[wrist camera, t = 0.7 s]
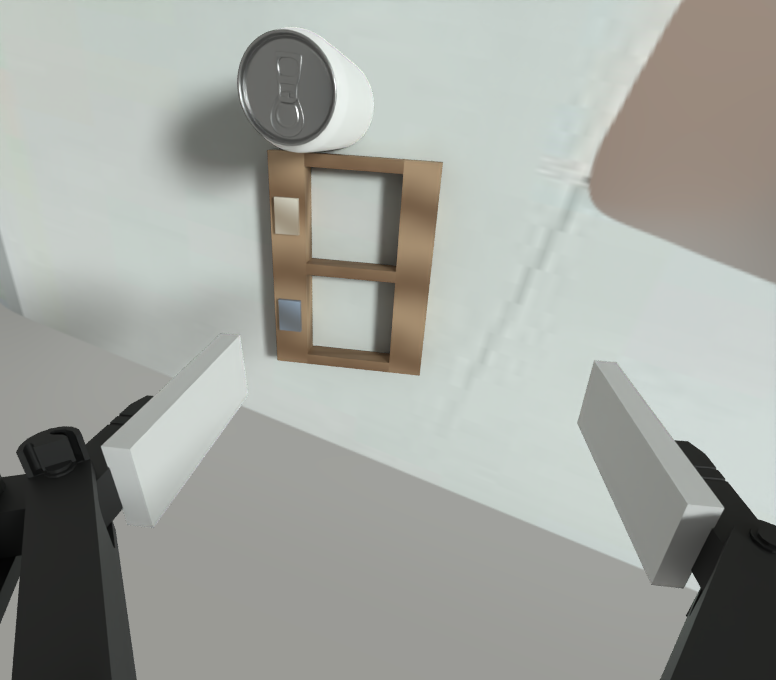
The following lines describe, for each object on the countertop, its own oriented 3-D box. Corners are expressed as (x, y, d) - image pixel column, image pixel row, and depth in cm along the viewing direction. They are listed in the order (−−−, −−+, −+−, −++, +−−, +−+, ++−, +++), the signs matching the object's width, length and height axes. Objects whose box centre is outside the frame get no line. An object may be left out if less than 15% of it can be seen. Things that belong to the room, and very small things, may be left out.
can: (294, 143, 36) (230, 145, 26) (297, 51, 34) (227, 11, 23) (370, 154, 36) (339, 161, 25) (379, 63, 33) (349, 27, 22)
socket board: (275, 149, 37) (265, 150, 34) (442, 162, 36) (442, 163, 34) (284, 351, 45) (276, 362, 43) (420, 365, 44) (419, 377, 42)
